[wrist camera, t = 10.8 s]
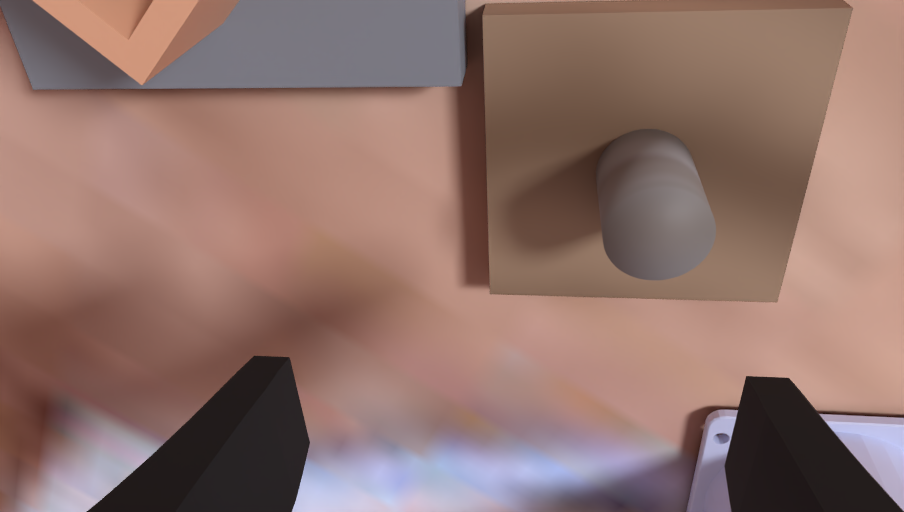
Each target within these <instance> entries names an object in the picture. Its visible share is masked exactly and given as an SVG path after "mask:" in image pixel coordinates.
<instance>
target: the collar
mask: <svg viewBox="0 0 904 512" xmlns="http://www.w3.org/2000/svg"><path fill="white" fill-rule="evenodd" d="M33 1H34V2H35V3H36V4H38V5H39V6H40V7H42V8H43V9H44V10H45V11H47V12H48V13H49V14H51V15H52V16H53V17H54V18H56V19H57V20H58V21H60V22H61V23H62V24H63V25H65V26H66V27H67V28H69V29H70V30H71V31H72V32H74V33H75V34H76V35H78V36H79V37H80V38H81V39H83V40H84V41H85V42H87V43H88V44H89V45H90V46H92V47H93V48H94V49H96V50H97V51H98V52H100V53H101V54H102V55H103V56H105V57H106V58H107V59H109V60H110V61H111V62H112V63H114V64H115V65H116V66H118V67H119V68H120V69H121V70H123V71H124V72H125V73H127V74H128V75H129V76H130V77H132V78H133V79H134V80H136V81H137V82H138V83H139V84H141V85H143V84H145V83H146V82H147V81H149V80H150V79H151V78H152V77H154V76H155V75H156V74H158V73H159V72H160V71H162V70H163V69H164V68H166V67H167V66H168V65H169V64H171V63H172V62H173V61H175V60H176V59H177V58H179V57H180V56H181V55H183V54H184V53H185V52H186V51H188V50H189V49H190V48H192V47H193V46H194V45H196V44H197V43H198V42H199V41H201V40H202V39H203V38H205V37H206V36H207V35H209V34H210V33H211V32H213V31H214V30H215V29H216V28H218V27H219V26H220V25H222V24H223V23H224V21H225V20H226V19H227V17H228V16H229V14H230V13H231V11H232V10H233V9H234V7H235V6H236V4H237V3H238V2H239V0H33Z"/></svg>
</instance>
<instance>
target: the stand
mask: <svg viewBox="0 0 904 512" xmlns="http://www.w3.org/2000/svg"><path fill="white" fill-rule="evenodd" d="M852 10H853V8H852V7H851V6H850V5H849V4H847V3H846V2H845V1H843V0H631V1H586V2H540V3H494V4H485V8H484V11H483V15H482V19H483V56H484V94H485V131H486V168H487V206H488V243H489V280H490V294H503V295H538V296H572V297H607V298H642V299H676V300H711V301H745V302H777V301H778V297H779V294H780V290H781V286H782V282H783V278H784V274H785V270H786V266H787V262H788V259H789V255H790V251H791V247H792V243H793V239H794V235H795V231H796V227H797V224H798V220H799V216H800V212H801V208H802V204H803V200H804V196H805V193H806V189H807V185H808V181H809V177H810V173H811V169H812V165H813V161H814V158H815V154H816V150H817V146H818V142H819V138H820V134H821V130H822V126H823V123H824V119H825V115H826V111H827V107H828V103H829V99H830V95H831V92H832V88H833V84H834V80H835V76H836V72H837V68H838V64H839V60H840V57H841V53H842V49H843V45H844V41H845V37H846V33H847V29H848V25H849V22H850V18H851V14H852Z"/></svg>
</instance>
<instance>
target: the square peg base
mask: <svg viewBox="0 0 904 512" xmlns="http://www.w3.org/2000/svg"><path fill="white" fill-rule="evenodd" d="M0 7H1V9H2V12H3V14H4V17H5V20H6V22H7V25H8V27H9V30H10V32H11V35H12V37H13V40H14V42H15V45H16V47H17V50H18V52H19V55H20V57H21V60H22V62H23V65H24V68H25V70H26V73H27V75H28V78H29V80H30V83H31V85H32V88H33V90H40V89H175V88H309V87H444V86H462V82H463V79H464V75H465V72H466V68H467V40H466V15H465V0H239V2H238V3H237V4H236V6H235V7H234V9H233V10H232V11H231V13H230V14H229V16H228V17H227V19H226V20H225V21H224V23H223V24H222V25H220V26H219V27H218V28H216V29H215V30H214V31H213V32H211V33H210V34H209V35H207V36H206V37H205V38H203V39H202V40H201V41H199V42H198V43H197V44H196V45H194V46H193V47H192V48H190V49H189V50H188V51H186V52H185V53H184V54H183V55H181V56H180V57H179V58H177V59H176V60H175V61H173V62H172V63H171V64H169V65H168V66H167V67H166V68H164V69H163V70H162V71H160V72H159V73H158V74H156V75H155V76H154V77H152V78H151V79H150V80H149V81H147V82H146V83H145V84H143V85H141V84H139V83H138V82H137V81H136V80H134V79H133V78H132V77H130V76H129V75H128V74H127V73H125V72H124V71H123V70H121V69H120V68H119V67H118V66H116V65H115V64H114V63H112V62H111V61H110V60H109V59H107V58H106V57H105V56H103V55H102V54H101V53H100V52H98V51H97V50H96V49H94V48H93V47H92V46H90V45H89V44H88V43H87V42H85V41H84V40H83V39H81V38H80V37H79V36H78V35H76V34H75V33H74V32H72V31H71V30H70V29H69V28H67V27H66V26H65V25H63V24H62V23H61V22H60V21H58V20H57V19H56V18H54V17H53V16H52V15H51V14H49V13H48V12H47V11H45V10H44V9H43V8H42V7H40V6H39V5H38V4H36V3H35V2H34V1H33V0H0Z"/></svg>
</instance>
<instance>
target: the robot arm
mask: <svg viewBox="0 0 904 512" xmlns="http://www.w3.org/2000/svg"><path fill="white" fill-rule="evenodd" d="M719 433H724V434H722V435H716V434H719ZM309 444H310V441H309V437H308V433H307V429H306V425H305V420H304V416H303V412H302V408H301V404H300V400H299V395H298V391H297V387H296V383H295V379H294V374H293V370H292V366H291V362H290V358H289V357H269V356H254V357H253V358H251V359H250V360H249V361H248V362H247V363H246V364H245V365H244V366H243V367H242V368H241V369H240V370H239V371H238V372H237V373H236V374H235V375H234V376H233V377H232V378H231V379H230V380H229V381H228V382H227V383H226V384H225V385H224V386H223V387H222V388H221V389H220V390H219V391H218V392H217V393H216V394H215V395H214V396H213V397H212V398H211V399H210V400H209V401H208V402H207V403H206V404H205V405H204V406H203V407H202V408H201V409H200V410H199V411H198V412H197V413H196V414H195V415H194V416H193V417H192V418H191V419H189V420H188V421H187V422H186V423H185V424H184V425H183V426H182V427H181V428H180V429H179V430H178V431H177V432H176V433H175V434H174V435H173V436H172V437H171V438H170V439H169V440H167V441H166V442H165V443H164V444H163V445H162V446H161V447H160V448H159V449H158V450H157V451H156V452H155V453H154V454H153V455H152V456H151V457H149V458H148V459H147V460H146V461H145V462H144V463H143V464H142V465H140V466H139V467H138V468H137V469H136V470H135V471H134V472H133V473H131V474H130V475H129V476H128V477H127V478H126V479H125V480H123V481H122V482H121V483H120V484H119V485H118V486H117V487H115V488H114V489H113V490H112V491H111V492H110V493H109V494H108V495H106V496H105V497H104V498H103V499H102V500H100V501H99V502H98V503H97V504H96V505H94V506H93V507H92V508H91V509H90V510H88V511H87V512H292V509H293V506H294V504H295V501H296V497H297V493H298V489H299V486H300V482H301V478H302V474H303V470H304V465H305V461H306V457H307V453H308V448H309ZM686 512H904V418H895V417H874V416H852V415H831V414H819V413H818V412H817V411H816V410H815V408H814V407H813V406H812V405H811V404H810V402H809V401H808V400H807V399H806V397H805V396H804V395H803V394H802V393H801V391H800V390H799V389H798V388H797V387H796V385H795V384H794V383H793V382H792V381H791V380H790V379H789V378H776V377H752V376H746V380H745V384H744V388H743V392H742V396H741V400H740V404H739V408H738V410H725V409H723V410H716V411H714V412H712V413H710V414H709V415H708V416H707V418H706V421H705V426H704V431H703V436H702V440H701V445H700V450H699V455H698V459H697V464H696V469H695V474H694V478H693V483H692V488H691V492H690V497H689V502H688V507H687V511H686Z"/></svg>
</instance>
